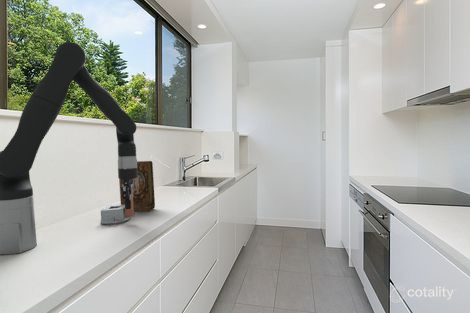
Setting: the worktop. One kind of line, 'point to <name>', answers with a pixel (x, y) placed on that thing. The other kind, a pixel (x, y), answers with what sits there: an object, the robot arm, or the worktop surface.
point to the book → (142, 188)
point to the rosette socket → (113, 215)
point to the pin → (130, 211)
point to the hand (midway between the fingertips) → (129, 207)
